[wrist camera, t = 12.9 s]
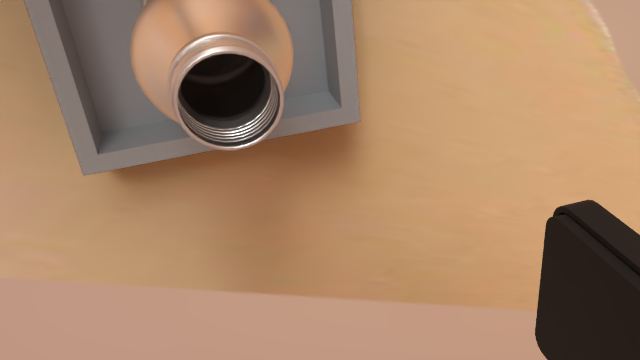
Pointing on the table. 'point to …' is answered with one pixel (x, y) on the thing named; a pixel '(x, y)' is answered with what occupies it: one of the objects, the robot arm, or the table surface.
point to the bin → (138, 111)
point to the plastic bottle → (214, 67)
